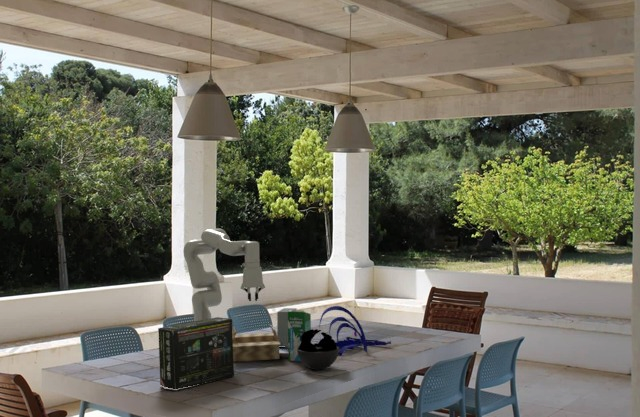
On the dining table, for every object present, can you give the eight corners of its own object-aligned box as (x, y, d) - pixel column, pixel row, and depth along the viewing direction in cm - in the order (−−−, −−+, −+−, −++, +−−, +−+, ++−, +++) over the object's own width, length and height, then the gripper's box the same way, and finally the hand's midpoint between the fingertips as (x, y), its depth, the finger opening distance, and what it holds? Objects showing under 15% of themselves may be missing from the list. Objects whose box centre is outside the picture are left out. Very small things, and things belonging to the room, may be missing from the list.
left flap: (231, 342, 377) (235, 331, 377) (229, 336, 393) (233, 326, 394) (232, 342, 377) (236, 331, 377) (230, 336, 393) (234, 326, 394)
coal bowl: (298, 364, 366) (298, 326, 366) (339, 364, 366) (338, 325, 366) (296, 374, 346) (295, 333, 346) (339, 373, 346) (338, 333, 346)
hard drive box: (290, 348, 408) (290, 311, 407) (277, 348, 409) (276, 311, 409) (297, 343, 423) (296, 307, 423) (284, 342, 424) (283, 307, 424)
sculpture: (392, 346, 405) (387, 299, 403) (350, 363, 380) (345, 313, 378) (343, 340, 429) (339, 296, 427) (301, 356, 404) (297, 309, 402)
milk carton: (311, 358, 382) (310, 309, 381) (305, 361, 373) (304, 311, 373) (294, 357, 385) (294, 308, 384) (288, 360, 376) (287, 311, 376)
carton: (233, 364, 369) (232, 346, 369) (228, 351, 401) (228, 335, 401) (281, 361, 374) (281, 343, 374) (273, 349, 406) (273, 332, 406)
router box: (219, 373, 352) (217, 316, 352) (235, 376, 345) (234, 318, 345) (157, 388, 325) (156, 327, 324) (173, 392, 318) (172, 329, 317)
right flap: (277, 339, 381) (273, 330, 381) (273, 334, 398) (269, 324, 397) (278, 339, 381) (274, 329, 381) (274, 333, 398) (270, 324, 397)
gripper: (237, 266, 382) (238, 302, 382) (268, 265, 385) (269, 301, 385) (236, 265, 389) (236, 300, 389) (267, 264, 392) (267, 299, 392)
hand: (253, 300), depth 387 cm, fingers open, 2 cm apart
